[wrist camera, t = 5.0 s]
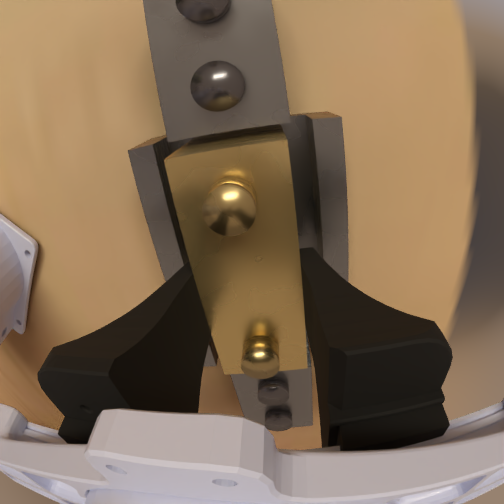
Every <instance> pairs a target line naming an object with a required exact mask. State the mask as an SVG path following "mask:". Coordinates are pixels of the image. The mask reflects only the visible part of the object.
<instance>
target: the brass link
mask: <svg viewBox="0 0 504 504" xmlns="http://www.w3.org/2000/svg"><path fill="white" fill-rule="evenodd" d="M164 163H165V167H166V172H167V176H168V180H169V184H170V188H171V192H172V197H173V201H174V205H175V208H176V212H177V216H178V220H179V224H180V228H181V232H182V235H183V239H184V243H185V246H186V250H187V254H188V257H189V261H190V265H191V268H192V272H193V275H194V279H195V282H196V285H197V289H198V292H199V296H200V299H201V302H202V306H203V309H204V312H205V315H206V319H207V322H208V325H209V328H210V331H211V335H212V338H213V341H214V344H215V347H216V350H217V353H218V356H219V359H220V362H221V365H222V368H223V371H224V374H246V375H247V376H249V377H251V378H255V379H266V378H270V377H272V376H274V375H275V374H277V373H278V371H286V370H297V369H306V368H308V366H307V347H306V330H305V315H304V301H303V287H302V275H301V263H300V251H299V241H298V230H297V220H296V210H295V201H294V192H293V183H292V174H291V166H290V157H289V149H288V142H287V138H286V136H285V133H284V131H283V129H282V126H281V125H274V126H266V127H259V128H251V129H244V130H238V131H231V132H225V133H219V134H213V135H208V136H202V137H197V138H193V139H192V140H190V141H189V142H187V143H186V144H185V145H183V146H182V147H180V148H179V149H178V150H176V151H175V152H174V153H172V154H171V155H169V156H168V157H167V158H165V159H164Z"/></svg>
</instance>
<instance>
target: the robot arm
mask: <svg viewBox="0 0 504 504" xmlns="http://www.w3.org/2000/svg"><path fill="white" fill-rule="evenodd" d="M299 251H300V263H301V275H302V287H303V301H304V315H305V326H306V330H307V335H308V339H309V343H310V347H311V352H312V356H313V361H314V366H315V374H316V383H317V393H318V403H319V414H320V426H321V439H322V448H316V449H307V450H288V449H277V448H276V445H275V441H274V437H273V435H272V434H271V433H270V432H269V431H268V430H267V429H266V427H265V426H264V425H262V424H261V423H258V422H256V421H253V420H250V419H248V418H245V417H243V416H236V415H228V414H219V413H198V408H199V395H200V386H201V377H202V371H203V366H204V362H205V358H206V354H207V349H208V345H209V341H210V337H211V331H210V328H209V325H208V322H207V319H206V315H205V312H204V309H203V306H202V302H201V299H200V296H199V292H198V289H197V285H196V282H195V279H194V275H193V272H192V268H191V265H190V261H189V262H187V263H186V264H185V265H184V266H183V267H182V268H180V269H179V270H178V271H177V272H176V273H175V274H174V275H173V276H172V277H171V278H170V279H169V280H167V281H166V282H165V283H164V284H163V285H162V286H161V287H160V288H159V289H157V290H156V291H155V292H154V293H153V294H151V295H150V296H149V297H148V298H147V299H145V300H144V301H143V302H142V303H140V304H139V305H138V306H136V307H135V308H134V309H132V310H131V311H129V312H128V313H126V314H125V315H123V316H122V317H120V318H118V319H116V320H115V321H113V322H111V323H110V324H108V325H106V326H104V327H102V328H100V329H98V330H96V331H94V332H92V333H90V334H88V335H86V336H83V337H81V338H79V339H76V340H73V341H70V342H68V343H65V344H62V345H59V346H56V347H53V348H52V350H51V352H50V353H49V355H48V357H47V358H46V360H45V362H44V363H43V365H42V367H41V369H40V370H39V372H38V381H39V383H40V386H41V388H42V389H43V391H44V392H45V394H46V395H47V396H48V397H49V399H50V400H51V401H52V402H53V403H54V404H55V406H56V407H57V408H58V409H59V410H60V411H61V412H62V413H63V415H64V416H65V418H64V420H63V422H62V425H61V427H60V429H59V430H55V429H51V428H48V427H44V426H41V425H37V424H34V423H31V422H28V421H27V419H26V418H25V417H24V416H23V415H22V414H21V413H20V412H19V411H18V410H17V409H15V408H13V407H11V406H8V405H5V404H2V403H0V471H1V472H3V473H4V474H5V475H7V476H8V477H9V478H11V479H12V480H14V481H15V482H17V483H19V484H21V485H23V486H25V487H27V488H29V489H31V490H33V491H35V492H37V493H39V494H41V495H43V496H45V497H48V498H50V499H52V500H54V501H56V502H59V503H61V504H463V503H465V502H467V501H469V500H472V499H474V498H476V497H478V496H480V495H482V494H484V493H486V492H488V491H490V490H492V489H494V488H496V487H498V486H500V485H501V484H503V483H504V398H503V400H502V401H501V402H499V403H497V404H494V405H491V406H489V407H486V408H484V409H481V410H479V411H476V412H473V413H470V414H468V415H465V416H462V417H459V418H456V419H453V420H450V421H448V418H447V415H446V413H445V410H444V407H443V405H442V403H443V402H444V400H445V397H444V394H443V392H442V389H441V387H442V384H443V382H444V380H445V378H446V375H447V373H448V370H449V368H450V366H451V362H452V358H453V357H452V350H451V348H450V346H449V344H448V342H447V340H446V338H445V337H444V335H443V333H442V332H441V330H440V329H439V327H438V326H437V325H436V323H435V322H434V321H431V320H427V319H424V318H420V317H417V316H413V315H410V314H407V313H404V312H402V311H399V310H396V309H394V308H391V307H389V306H387V305H385V304H383V303H381V302H379V301H377V300H375V299H373V298H371V297H369V296H368V295H366V294H364V293H363V292H361V291H360V290H358V289H357V288H355V287H354V286H352V285H351V284H350V283H349V282H347V281H346V280H345V279H344V278H342V277H341V276H340V275H339V274H338V273H337V272H336V271H335V270H334V269H333V268H332V267H331V266H330V265H329V264H328V263H327V262H326V261H325V260H324V259H323V258H322V257H321V256H320V254H319V253H318V252H317V251H316V250H315V249H314V248H313V247H309V248H300V249H299ZM29 252H30V253H29ZM37 253H38V244H37V242H36V241H35V240H34V239H33V238H32V237H30V236H29V235H28V234H26V233H25V232H24V231H22V230H21V229H20V228H18V227H17V226H16V225H14V224H13V223H12V222H11V221H9V220H8V219H7V218H5V217H4V216H3V215H2V214H0V345H1V343H2V342H3V340H4V339H5V338H6V336H7V335H8V334H9V332H10V331H11V330H12V329H14V330H15V331H16V332H18V333H19V334H23V333H24V332H25V328H26V319H27V311H28V304H29V297H30V290H31V284H32V279H33V273H34V268H35V263H36V258H37Z"/></svg>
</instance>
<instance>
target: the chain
mask: <svg viewBox="0 0 504 504" xmlns="http://www.w3.org/2000/svg"><path fill="white" fill-rule="evenodd" d="M143 4H144V11H145V18H146V25H147V31H148V38H149V44H150V50H151V56H152V62H153V67H154V73H155V78H156V84H157V89H158V94H159V100H160V105H161V110H162V115H163V120H164V125H165V129H166V134H167V135H166V136H161V137H157V138H153V139H150V140H148V141H146V142H144V143H142V144H140V145H138V146H136V147H134V148H132V149H130V150H128V154H129V158H130V162H131V166H132V170H133V173H134V177H135V181H136V185H137V189H138V192H139V196H140V200H141V203H142V207H143V210H144V214H145V217H146V221H147V224H148V227H149V231H150V234H151V237H152V240H153V244H154V247H155V250H156V253H157V256H158V259H159V262H160V266H161V269H162V272H163V275H164V278H165V280H166V281H167V280H169V279H170V278H171V277H172V276H173V275H174V274H175V273H176V272H177V271H178V270H179V269H180V268H182V267H183V266H184V265H185V264H186V263H187V262H189V257H188V254H187V250H186V246H185V243H184V239H183V235H182V232H181V228H180V224H179V220H178V216H177V212H176V208H175V205H174V201H173V197H172V192H171V188H170V184H169V180H168V176H167V172H166V167H165V163H164V159H165V158H167V157H168V156H169V155H171V154H172V153H174V152H175V151H176V150H178V149H179V148H180V147H182V146H183V145H185V144H186V143H187V142H189V141H190V140H192V139H193V138H197V137H202V136H208V135H213V134H219V133H225V132H231V131H238V130H244V129H251V128H259V127H266V126H274V125H281V126H282V129H283V131H284V133H285V136H286V138H287V142H288V149H289V157H290V166H291V174H292V183H293V192H294V201H295V210H296V220H297V230H298V241H299V249H300V248H309V247H313V248H314V249H315V250H316V251H317V252H318V253H319V254H320V256H321V257H322V258H323V259H324V260H325V261H326V262H327V263H328V264H329V265H330V266H331V267H332V268H333V269H334V270H335V271H336V272H337V273H338V274H339V275H340V276H341V277H342V278H344V279H345V280H346V281H347V282H348V206H347V183H346V166H345V151H344V139H343V127H342V117H340V116H338V115H335V114H332V113H330V112H318V113H306V114H295V115H290V113H289V105H288V98H287V91H286V85H285V78H284V71H283V65H282V59H281V53H280V47H279V41H278V35H277V29H276V24H275V18H274V13H273V7H272V2H271V0H143ZM305 330H306V326H305ZM306 347H307V366H308V368H306V369H297V370H286V371H278V373H277V374H275V375H274V376H272V377H270V378H266V379H255V378H251V377H249V376H247V375H246V374H230V375H231V378H232V381H233V384H234V387H235V390H236V393H237V396H238V399H239V402H240V405H241V408H242V411H243V414H244V417H245V418H248V419H250V420H253V421H256V422H258V423H261V424H262V425H264V426H265V427H266V429H269V430H272V431H284V430H287V429H289V428H291V427H301V426H311V425H313V413H312V373H311V360H310V352H309V344H308V336H307V330H306ZM217 359H218V353H217V350H216V347H215V344H214V341H213V338H212V335H211V337H210V341H209V345H208V349H207V354H206V358H205V362H204V366H203V367H205V366H216V365H217Z"/></svg>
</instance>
